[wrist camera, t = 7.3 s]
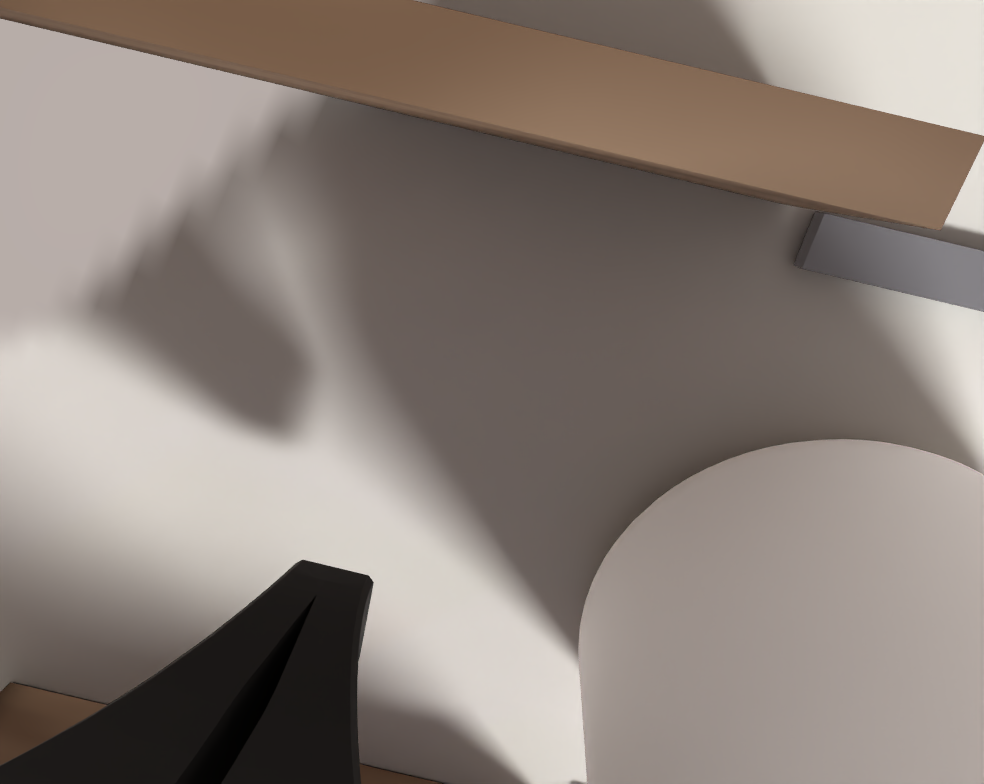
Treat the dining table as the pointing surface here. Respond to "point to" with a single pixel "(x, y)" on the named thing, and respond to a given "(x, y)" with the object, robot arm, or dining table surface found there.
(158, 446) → the dining table surface
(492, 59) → the wooden pieces
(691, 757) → the cup
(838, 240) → the bracket
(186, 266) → the dining table surface
